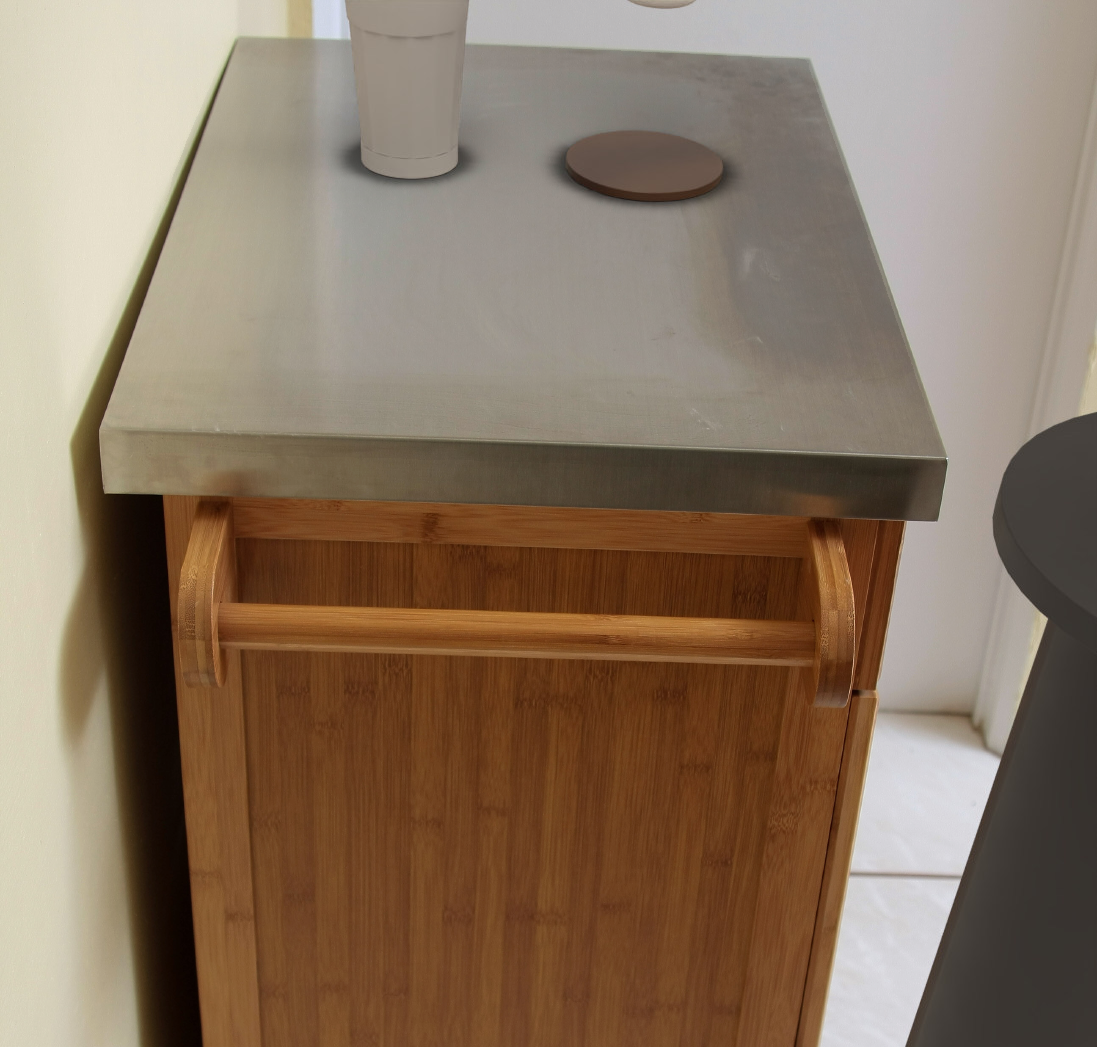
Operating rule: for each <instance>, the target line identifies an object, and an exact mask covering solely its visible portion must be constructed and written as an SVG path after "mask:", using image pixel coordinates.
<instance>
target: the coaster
mask: <svg viewBox="0 0 1097 1047" xmlns="http://www.w3.org/2000/svg"><path fill="white" fill-rule="evenodd" d="M565 168H566V169H565V170H566V171H567V173H568V175H569V176H570V177H571V178H572V179H573V180H574V181H576V182H577V183H578V184H580V185H582V186H583V187H585V188H587V189H590V190H592V191H595V192H597V193H599V194H603V195H606V196H611V197H615V198H619V199H624V200H632V201H639V202H641V201H642V202H671V201H672V202H673V201H679V200H685V199H690V198H695V197H698V196H701V195H704V194H706V193H708V192H710V191H711V190H713V189H715V188H716V187H717V186H718V185H719V184H720V182H721V181H722V178H723V173H724V172H723V171H724V165H723V161H722V158H720V156H719V155H718V154H717V153H716V152H715V151H713V150H712V149H710V148H709V147H708V146H706V145H704V144H702V143H700V142H697V141H694V140H692V139H689V138H686V137H684V136H680V135H675V134H671V133H665V132H658V131H652V130H651V131H650V130H616V131H608V132H600V133H596V134H593V135H589V136H587V137H584V138H582V139H579V140H578V141H576V142H575V143H573V144H572V145H571V146H570V147H569V148H568V150H567V152H566V156H565Z"/></svg>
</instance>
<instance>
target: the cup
mask: <svg viewBox="0 0 1097 1047" xmlns="http://www.w3.org/2000/svg"><path fill="white" fill-rule="evenodd" d="M344 4H345V13H346V18H347V21H348V25H349V26H348V27H349V34H350V35H349V36H350V43H351V53H352V62H353V72H354V82H355V91H356V101H357V107H358V117H359V118H358V119H359V126H360V135H361V136H360V159H361V163H362V165H363V166H364V167H365V168H367V169H368V170H370V171H371V172H374V173H376V174H378V175H382V176H385V177H391V178H395V179H407V180H408V179H409V180H410V179H412V180H413V179H414V180H415V179H428V178H433V177H437V176H441V175H444V174H446V173H448V172H450V171H452V170H453V169H454V168H456V166H457V165H458V162H459V130H460V128H459V127H460V117H461V116H460V115H461V104H462V103H461V101H462V90H463V76H464V63H465V53H466V52H465V50H466V38H467V24H468V19H469V7H470V0H344Z"/></svg>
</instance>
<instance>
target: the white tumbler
mask: <svg viewBox="0 0 1097 1047" xmlns="http://www.w3.org/2000/svg"><path fill="white" fill-rule="evenodd" d="M627 1H628V2H629V3H631V4H634V5H636V6H641V7H645V8H651V9H660V10H663V9H664V10H671V9H681V8H684V7H687V6H689V5H692V4H694V3H695V2H696V1H697V0H627Z"/></svg>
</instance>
